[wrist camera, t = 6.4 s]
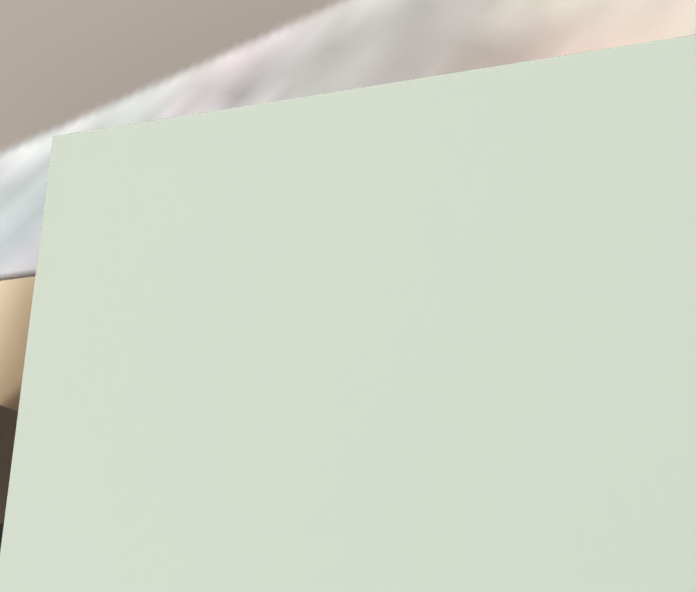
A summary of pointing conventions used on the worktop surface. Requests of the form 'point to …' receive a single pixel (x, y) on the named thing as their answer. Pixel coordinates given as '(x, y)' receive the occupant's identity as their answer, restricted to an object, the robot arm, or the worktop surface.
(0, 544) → the robot arm
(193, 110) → the worktop surface
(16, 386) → the post base
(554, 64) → the tall mint green block
